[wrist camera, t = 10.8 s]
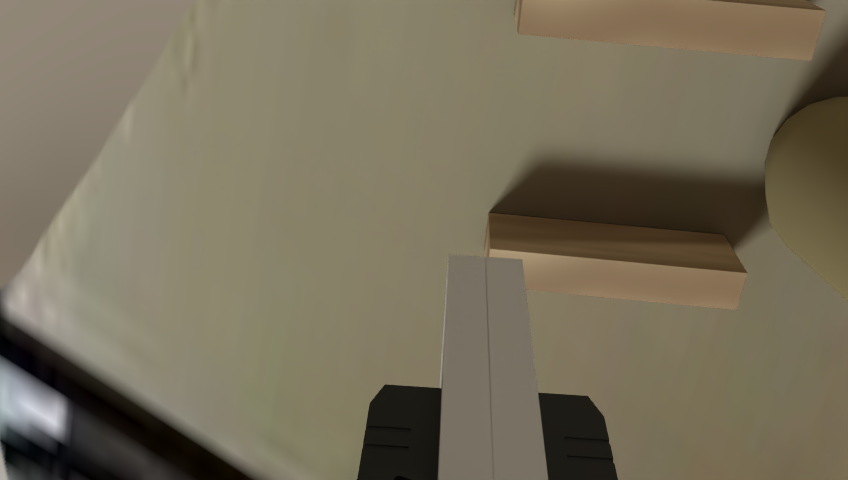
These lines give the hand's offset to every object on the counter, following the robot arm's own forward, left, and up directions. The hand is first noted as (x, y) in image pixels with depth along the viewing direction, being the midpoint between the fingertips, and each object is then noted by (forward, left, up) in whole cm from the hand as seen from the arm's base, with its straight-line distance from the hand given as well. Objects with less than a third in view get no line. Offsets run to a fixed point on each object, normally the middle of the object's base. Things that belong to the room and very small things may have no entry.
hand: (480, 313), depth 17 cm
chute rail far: (+9, +8, -23) cm, 26 cm away
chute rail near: (-3, +8, -23) cm, 25 cm away
